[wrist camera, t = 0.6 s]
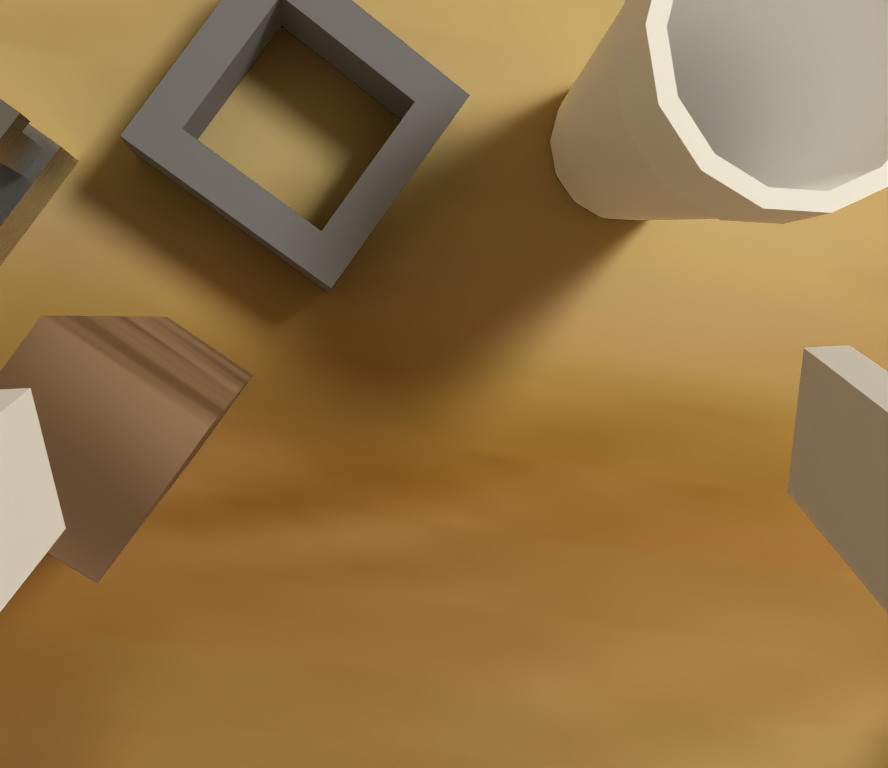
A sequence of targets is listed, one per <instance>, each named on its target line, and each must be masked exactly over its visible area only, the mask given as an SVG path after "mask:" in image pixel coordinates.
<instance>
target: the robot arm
mask: <svg viewBox="0 0 888 768" xmlns="http://www.w3.org/2000/svg"><path fill="white" fill-rule="evenodd" d="M787 492H788V493H789V494H790V495H791V497H792V498H793V499H794V500H795V502H796V503H797V504H798V505H799V506H800V508H801V509H802V510H803V511H804V512H805V514H806V515H807V516H808V517H809V519H810V520H811V521H812V522H813V523H814V525H815V526H816V527H817V528H818V529H819V531H820V532H821V533H822V534H823V535H824V537H825V538H826V539H827V540H828V542H829V543H830V544H831V545H832V546H833V548H834V549H835V550H836V551H837V552H838V554H839V555H840V556H841V557H842V559H843V560H844V561H845V562H846V563H847V565H848V566H849V567H850V568H851V569H852V571H853V572H854V573H855V574H856V576H857V577H858V578H859V579H860V580H861V582H862V583H863V584H864V585H865V586H866V588H867V589H868V590H869V591H870V592H871V594H872V595H873V596H874V597H875V599H876V600H877V601H878V602H879V603H880V605H881V606H882V607H883V608H884V609H885V611H886V612H887V613H888V371H886V370H885V369H883V368H882V367H880V366H879V365H877V364H876V363H874V362H873V361H871V360H870V359H868V358H867V357H866V356H864V355H863V354H861V353H860V352H858V351H857V350H855V349H854V348H852V347H851V346H849V345H848V346H828V347H809V348H804V351H803V360H802V369H801V377H800V386H799V395H798V404H797V412H796V421H795V430H794V439H793V447H792V456H791V465H790V473H789V482H788V491H787ZM65 529H66V527H65V523H64V519H63V515H62V511H61V507H60V503H59V499H58V495H57V491H56V487H55V483H54V479H53V475H52V471H51V467H50V463H49V459H48V455H47V451H46V447H45V444H44V440H43V436H42V432H41V428H40V424H39V420H38V416H37V412H36V408H35V404H34V400H33V396H32V392H31V388H20V389H0V612H1V610H2V609H3V608H4V607H5V605H6V604H7V603H8V602H9V600H10V599H11V598H12V596H13V595H14V594H15V593H16V591H17V590H18V589H19V588H20V586H21V585H22V584H23V582H24V581H25V580H26V579H27V577H28V576H29V575H30V573H31V572H32V571H33V570H34V568H35V567H36V566H37V565H38V563H39V562H40V561H41V559H42V558H43V557H44V556H45V554H46V553H47V552H48V551H49V549H50V548H51V547H52V545H53V544H54V543H55V542H56V540H57V539H58V538H59V537H60V535H61V534H62V533H63V531H64V530H65Z"/></svg>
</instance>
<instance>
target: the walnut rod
mask: <svg viewBox="0 0 888 768" xmlns="http://www.w3.org/2000/svg"><path fill="white" fill-rule="evenodd" d="M251 377H252V375H251V374H249V373H248V372H246V371H245V370H243V369H242V368H240V367H239V366H237V365H236V364H235V363H233V362H232V361H230V360H229V359H227V358H226V357H224V356H223V355H221V354H220V353H219V352H217V351H216V350H214V349H213V348H211V347H210V346H208V345H207V344H205V343H204V342H202V341H201V340H200V339H198V338H197V337H195V336H194V335H192V334H191V333H189V332H188V331H186V330H185V329H184V328H182V327H181V326H179V325H178V324H176V323H175V322H173V321H172V320H170V319H169V318H167V317H117V316H41V317H40V319H39V320H38V321H37V323H36V324H35V325H34V327H33V328H32V329H31V331H30V332H29V334H28V335H27V336H26V338H25V339H24V340H23V342H22V343H21V344H20V346H19V347H18V349H17V350H16V351H15V353H14V354H13V355H12V357H11V358H10V359H9V361H8V362H7V364H6V365H5V366H4V368H3V369H2V370H1V372H0V389H20V388H31V392H32V396H33V400H34V404H35V408H36V412H37V416H38V420H39V424H40V428H41V432H42V436H43V440H44V444H45V447H46V451H47V455H48V459H49V463H50V467H51V471H52V475H53V479H54V483H55V487H56V491H57V495H58V499H59V503H60V507H61V511H62V515H63V519H64V523H65V527H66V529H65V530H64V531H63V533H62V534H61V535H60V537H59V538H58V539H57V540H56V542H55V543H54V544H53V545H52V547H51V548H50V549H49V551H48V552H47V553H48V554H49V555H51V556H53V557H54V558H56V559H58V560H59V561H61V562H63V563H64V564H66V565H68V566H69V567H71V568H73V569H74V570H76V571H78V572H79V573H81V574H83V575H84V576H86V577H88V578H89V579H91V580H92V581H94V582H96V583H98V582H99V580H100V579H101V578H102V576H103V575H104V574H105V572H106V571H107V570H108V568H109V567H110V566H111V565H112V563H113V562H114V561H115V559H116V558H117V557H118V555H119V554H120V553H121V551H122V550H123V549H124V548H125V546H126V545H127V544H128V542H129V541H130V540H131V538H132V537H133V536H134V534H135V533H136V532H137V530H138V529H139V528H140V527H141V525H142V524H143V523H144V521H145V520H146V519H147V517H148V516H149V515H150V513H151V512H152V511H153V510H154V508H155V507H156V506H157V504H158V503H159V502H160V500H161V499H162V498H163V496H164V495H165V494H166V493H167V491H168V490H169V489H170V487H171V486H172V485H173V483H174V482H175V481H176V479H177V478H178V477H179V475H180V474H181V473H182V472H183V470H184V469H185V468H186V466H187V465H188V464H189V462H190V461H191V460H192V458H193V457H194V456H195V454H196V453H197V452H198V450H199V449H200V447H201V446H202V445H203V443H204V442H205V440H206V439H207V438H208V436H209V435H210V434H211V432H212V431H213V429H214V428H215V427H216V425H217V424H218V422H219V421H220V420H221V418H222V417H223V415H224V414H225V413H226V411H227V410H228V409H229V407H230V406H231V404H232V403H233V402H234V400H235V399H236V397H237V396H238V395H239V393H240V392H241V390H242V389H243V388H244V386H245V385H246V384H247V382H248V381H249V379H250V378H251Z"/></svg>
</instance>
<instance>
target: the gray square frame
mask: <svg viewBox="0 0 888 768" xmlns="http://www.w3.org/2000/svg"><path fill="white" fill-rule="evenodd" d="M281 26H282V27H283V28H285V29H286V30H287V31H288V32H290V33H291V34H292V35H294V36H295V37H296V38H297V39H299V40H300V41H301V42H303V43H304V44H305V45H306V46H308V47H309V48H310V49H311V50H313V51H314V52H315V53H317V54H318V55H319V56H320V57H322V58H323V59H324V60H326V61H327V62H328V63H329V64H331V65H332V66H333V67H334V68H336V69H337V70H338V71H340V72H341V73H342V74H343V75H345V76H346V77H347V78H348V79H350V80H351V81H352V82H354V83H355V84H356V85H357V86H359V87H360V88H361V89H363V90H364V91H365V92H366V93H368V94H369V95H370V96H371V97H373V98H374V99H375V100H377V101H378V102H379V103H380V104H382V105H383V106H384V107H386V108H387V109H388V110H389V111H391V112H392V113H393V114H394V115H396V116H397V117H398V118H400V119H401V122H400V123H399V124H398V126H397V127H396V129H395V130H394V131H393V133H392V134H391V135H390V137H389V138H388V140H387V141H386V142H385V144H384V145H383V147H382V148H381V149H380V151H379V152H378V153H377V155H376V156H375V158H374V159H373V160H372V162H371V163H370V165H369V166H368V167H367V169H366V170H365V171H364V173H363V174H362V176H361V177H360V178H359V180H358V181H357V183H356V184H355V185H354V187H353V188H352V189H351V191H350V192H349V194H348V195H347V196H346V198H345V199H344V201H343V202H342V203H341V205H340V206H339V207H338V209H337V210H336V212H335V213H334V214H333V216H332V217H331V219H330V220H329V221H328V223H327V224H326V226H325V227H324V228H323V230H322V231H321V230H319V229H318V228H316V227H315V226H314V225H312V224H311V223H310V222H308V221H307V220H306V219H304V218H303V217H301V216H300V215H299V214H297V213H296V212H295V211H293V210H292V209H291V208H289V207H288V206H287V205H285V204H284V203H282V202H281V201H280V200H278V199H277V198H276V197H274V196H273V195H272V194H270V193H269V192H268V191H266V190H265V189H263V188H262V187H261V186H259V185H258V184H257V183H255V182H254V181H253V180H251V179H250V178H248V177H247V176H246V175H244V174H243V173H242V172H240V171H239V170H238V169H236V168H235V167H234V166H232V165H231V164H229V163H228V162H227V161H225V160H224V159H223V158H221V157H220V156H219V155H217V154H216V153H214V152H213V151H212V150H210V149H209V148H208V147H206V146H205V145H204V144H202V143H201V142H200V141H198V140H197V139H198V138H199V137H200V135H201V134H202V133H203V131H204V130H205V129H206V127H207V126H208V125H209V123H210V122H211V121H212V119H213V118H214V116H215V115H216V114H217V112H218V111H219V110H220V108H221V107H222V106H223V104H224V103H225V102H226V100H227V99H228V98H229V96H230V95H231V93H232V92H233V91H234V89H235V88H236V87H237V85H238V84H239V83H240V81H241V80H242V79H243V77H244V76H245V75H246V73H247V72H248V70H249V69H250V68H251V66H252V65H253V64H254V62H255V61H256V60H257V58H258V57H259V56H260V54H261V53H262V52H263V50H264V49H265V47H266V46H267V45H268V43H269V42H270V41H271V39H272V38H273V37H274V35H275V34H276V33H277V31H278V30H279V29H280V27H281ZM469 96H470V95H469V94H468V93H466V92H465V91H464V90H463V89H461V88H460V87H459V86H458V85H456V84H455V83H454V82H453V81H451V80H450V79H449V78H448V77H447V76H445V75H444V74H443V73H442V72H440V71H439V70H438V69H437V68H435V67H434V66H433V65H432V64H430V63H429V62H428V61H427V60H425V59H424V58H423V57H422V56H420V55H419V54H418V53H417V52H415V51H414V50H413V49H412V48H410V47H409V46H408V45H407V44H406V43H404V42H403V41H402V40H401V39H399V38H398V37H397V36H396V35H394V34H393V33H392V32H391V31H389V30H388V29H387V28H386V27H384V26H383V25H382V24H381V23H379V22H378V21H377V20H376V19H374V18H373V17H372V16H371V15H370V14H368V13H367V12H366V11H365V10H363V9H362V8H361V7H360V6H358V5H357V4H356V3H355V2H353V1H352V0H221V1H220V3H219V4H218V5H217V7H216V8H215V9H214V11H213V12H212V13H211V15H210V16H209V17H208V19H207V20H206V21H205V23H204V24H203V25H202V27H201V28H200V29H199V31H198V32H197V33H196V35H195V36H194V38H193V39H192V40H191V42H190V43H189V44H188V46H187V47H186V48H185V50H184V51H183V52H182V54H181V55H180V56H179V58H178V59H177V60H176V62H175V63H174V64H173V66H172V67H171V68H170V70H169V71H168V72H167V74H166V75H165V76H164V78H163V79H162V80H161V82H160V83H159V84H158V86H157V87H156V88H155V90H154V91H153V92H152V94H151V95H150V96H149V98H148V99H147V101H146V102H145V103H144V105H143V106H142V107H141V109H140V110H139V111H138V113H137V114H136V115H135V117H134V118H133V119H132V121H131V122H130V123H129V125H128V126H127V127H126V129H125V130H124V131H123V133H122V134H121V135H120V136H121V137H122V139H123V140H124V141H125V142H126V143H127V145H128V146H129V147H130V148H131V149H132V150H133V152H134V153H135V154H136V155H137V156H139V157H140V158H142V159H143V160H144V161H146V162H147V163H149V164H150V165H151V166H153V167H154V168H156V169H157V170H158V171H160V172H161V173H162V174H164V175H165V176H167V177H168V178H169V179H171V180H172V181H174V182H175V183H176V184H178V185H179V186H181V187H182V188H183V189H185V190H186V191H187V192H189V193H190V194H192V195H193V196H194V197H196V198H197V199H199V200H200V201H201V202H203V203H204V204H206V205H207V206H208V207H210V208H211V209H212V210H214V211H215V212H217V213H218V214H219V215H221V216H222V217H224V218H225V219H226V220H228V221H229V222H231V223H232V224H233V225H235V226H236V227H237V228H239V229H240V230H242V231H243V232H244V233H246V234H247V235H249V236H250V237H251V238H253V239H254V240H256V241H257V242H258V243H260V244H261V245H262V246H264V247H265V248H267V249H268V250H269V251H271V252H272V253H274V254H275V255H276V256H278V257H279V258H280V259H282V260H283V261H285V262H286V263H287V264H289V265H290V266H292V267H293V268H294V269H296V270H297V271H299V272H300V273H301V274H303V275H304V276H305V277H307V278H308V279H310V280H311V281H312V282H314V283H315V284H317V285H318V286H319V287H321V288H322V289H324V290H325V291H326V292H328V291H329V290H330V289H331V288H332V287H333V285H334V284H335V282H336V281H337V280H338V278H339V277H340V275H341V274H342V273H343V271H344V270H345V268H346V267H347V266H348V264H349V263H350V261H351V260H352V259H353V257H354V256H355V254H356V253H357V252H358V250H359V249H360V248H361V246H362V245H363V243H364V242H365V241H366V239H367V238H368V236H369V235H370V234H371V232H372V231H373V229H374V228H375V227H376V225H377V224H378V222H379V221H380V220H381V218H382V217H383V215H384V214H385V213H386V211H387V210H388V208H389V207H390V206H391V204H392V203H393V201H394V200H395V199H396V197H397V196H398V195H399V193H400V192H401V190H402V189H403V188H404V186H405V185H406V183H407V182H408V181H409V179H410V178H411V176H412V175H413V174H414V172H415V171H416V169H417V168H418V167H419V165H420V164H421V162H422V161H423V160H424V158H425V157H426V155H427V154H428V153H429V151H430V150H431V149H432V147H433V146H434V144H435V143H436V142H437V140H438V139H439V137H440V136H441V135H442V133H443V132H444V130H445V129H446V128H447V126H448V125H449V123H450V122H451V121H452V119H453V118H454V116H455V115H456V114H457V112H458V111H459V109H460V108H461V107H462V105H463V104H464V102H465V101H466V100H467V98H468V97H469Z"/></svg>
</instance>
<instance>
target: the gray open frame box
mask: <svg viewBox="0 0 888 768" xmlns="http://www.w3.org/2000/svg"><path fill="white" fill-rule="evenodd" d="M29 122H30V121H29V120H28V119H27V118H26V117H24V116H23V115H22V114H21V113H19V112H18V111H17V110H15V109H14V108H12V107H11V106H10V105H8V104H7V103H5V102H4V101H3V100H1V99H0V265H1V264H2V262H3V261H4V260H5V258H6V257H7V256H8V254H9V253H10V252H11V250H12V249H13V248H14V246H15V245H16V243H17V242H18V241H19V239H20V238H21V237H22V235H23V234H24V233H25V231H26V230H27V229H28V227H29V226H30V225H31V223H32V222H33V221H34V219H35V218H36V217H37V215H38V214H39V213H40V211H41V210H42V209H43V207H44V206H45V205H46V203H47V202H48V201H49V199H50V198H51V197H52V195H53V194H54V193H55V191H56V190H57V189H58V187H59V186H60V185H61V183H62V182H63V181H64V179H65V178H66V177H67V175H68V174H69V173H70V171H71V170H72V169H73V167H74V166H75V165H76V163H77V162H78V160H76V159H75V158H74V157H73V156H72V155H70V154H69V153H68V152H67V151H65V150H64V149H63V148H62V147H61V146H59V145H58V144H56V143H55V142H54V141H52V140H51V139H49V138H48V137H47V136H45V135H44V134H42V133H41V132H39V131H38V130H37V129H35V128H34V127H32V126H31V125H30V124H29Z"/></svg>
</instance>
